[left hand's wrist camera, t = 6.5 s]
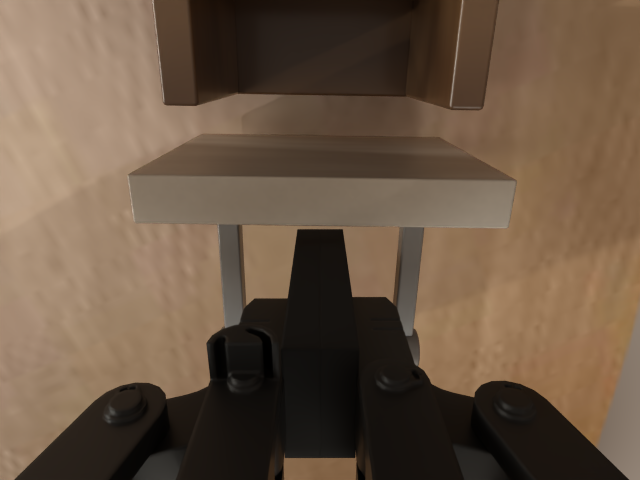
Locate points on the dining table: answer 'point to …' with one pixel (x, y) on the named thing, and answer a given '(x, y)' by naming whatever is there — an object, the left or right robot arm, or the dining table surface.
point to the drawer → (323, 151)
